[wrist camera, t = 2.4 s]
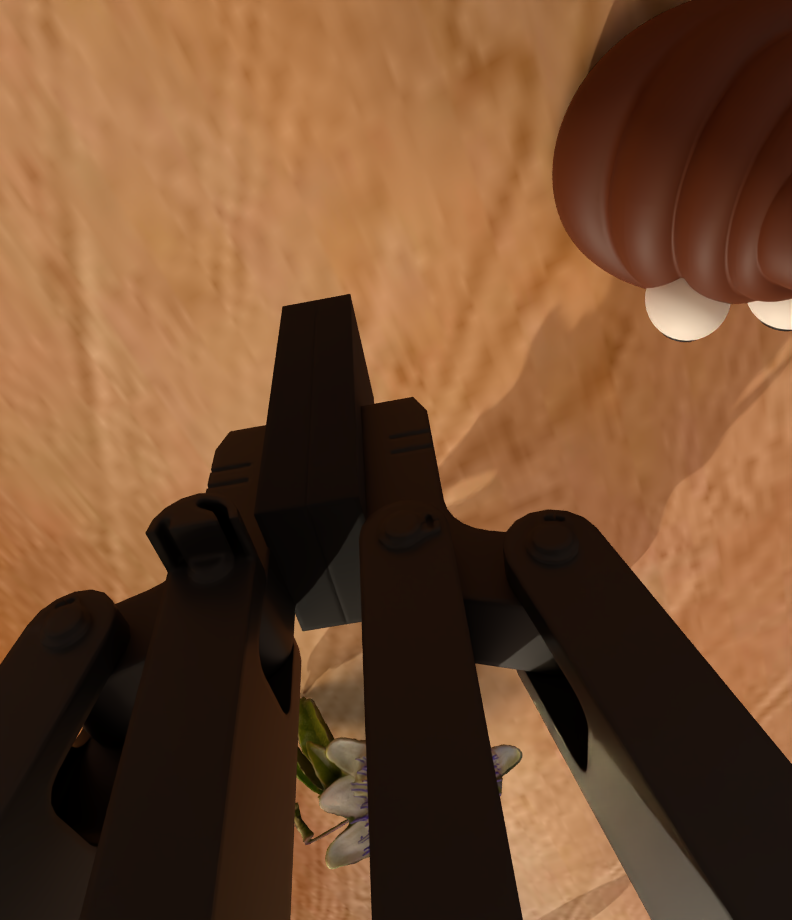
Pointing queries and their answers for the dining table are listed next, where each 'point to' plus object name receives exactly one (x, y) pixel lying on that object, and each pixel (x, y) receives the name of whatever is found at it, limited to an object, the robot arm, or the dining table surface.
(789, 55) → the poop emoji
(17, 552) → the dining table surface
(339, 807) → the passion flower
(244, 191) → the dining table surface
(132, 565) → the dining table surface
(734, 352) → the dining table surface
